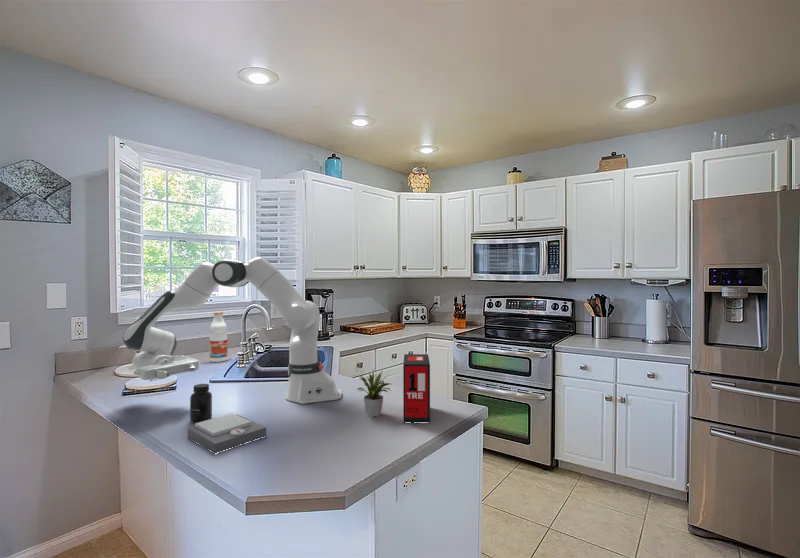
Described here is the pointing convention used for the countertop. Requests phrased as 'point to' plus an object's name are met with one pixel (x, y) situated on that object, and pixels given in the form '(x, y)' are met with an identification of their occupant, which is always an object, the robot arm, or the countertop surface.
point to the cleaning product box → (416, 388)
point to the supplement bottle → (200, 404)
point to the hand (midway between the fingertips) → (180, 371)
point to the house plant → (373, 394)
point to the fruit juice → (218, 339)
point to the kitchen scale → (225, 432)
